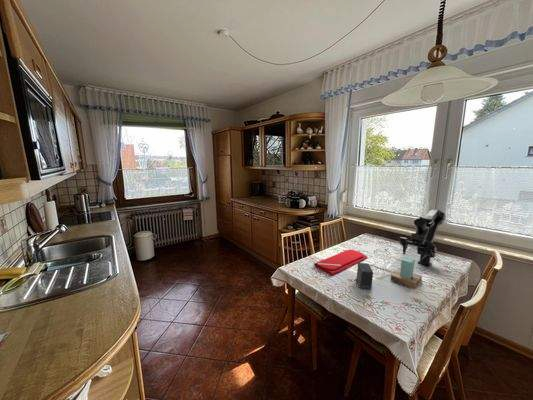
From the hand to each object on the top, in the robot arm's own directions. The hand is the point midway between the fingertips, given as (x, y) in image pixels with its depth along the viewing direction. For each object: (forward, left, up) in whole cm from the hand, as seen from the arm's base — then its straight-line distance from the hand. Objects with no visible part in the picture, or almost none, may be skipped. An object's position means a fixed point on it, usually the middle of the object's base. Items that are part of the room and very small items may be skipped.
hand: (412, 257), depth 131 cm
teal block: (+6, 0, -10) cm, 12 cm away
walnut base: (+6, 0, -13) cm, 14 cm away
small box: (+28, -14, -13) cm, 34 cm away
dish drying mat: (+14, -37, -14) cm, 42 cm away
